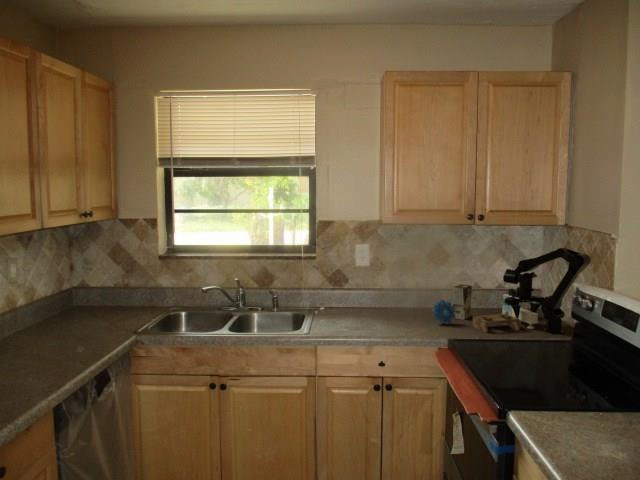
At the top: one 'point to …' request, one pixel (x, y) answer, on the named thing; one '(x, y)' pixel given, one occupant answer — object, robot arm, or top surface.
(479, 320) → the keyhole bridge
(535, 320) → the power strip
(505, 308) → the light bulb box
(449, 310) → the grapes
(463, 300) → the coffee box
